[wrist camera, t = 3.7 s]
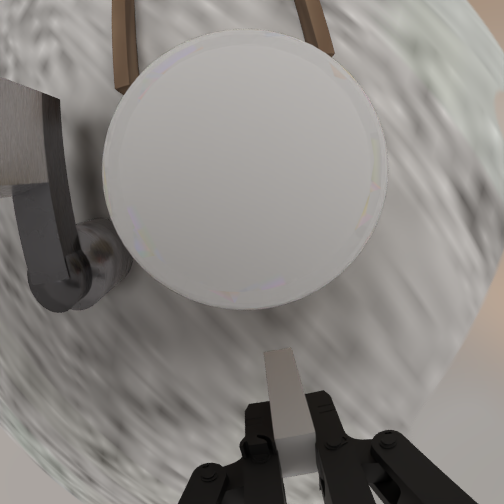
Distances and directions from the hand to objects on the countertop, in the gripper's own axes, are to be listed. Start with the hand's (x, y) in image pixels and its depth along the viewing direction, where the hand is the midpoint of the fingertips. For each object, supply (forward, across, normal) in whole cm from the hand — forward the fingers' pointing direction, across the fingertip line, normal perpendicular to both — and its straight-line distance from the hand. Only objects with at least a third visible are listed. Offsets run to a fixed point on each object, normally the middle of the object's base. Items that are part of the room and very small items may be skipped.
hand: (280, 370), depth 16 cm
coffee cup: (+7, 0, +11) cm, 13 cm away
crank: (+1, -11, +11) cm, 16 cm away
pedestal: (+6, -11, +7) cm, 15 cm away
